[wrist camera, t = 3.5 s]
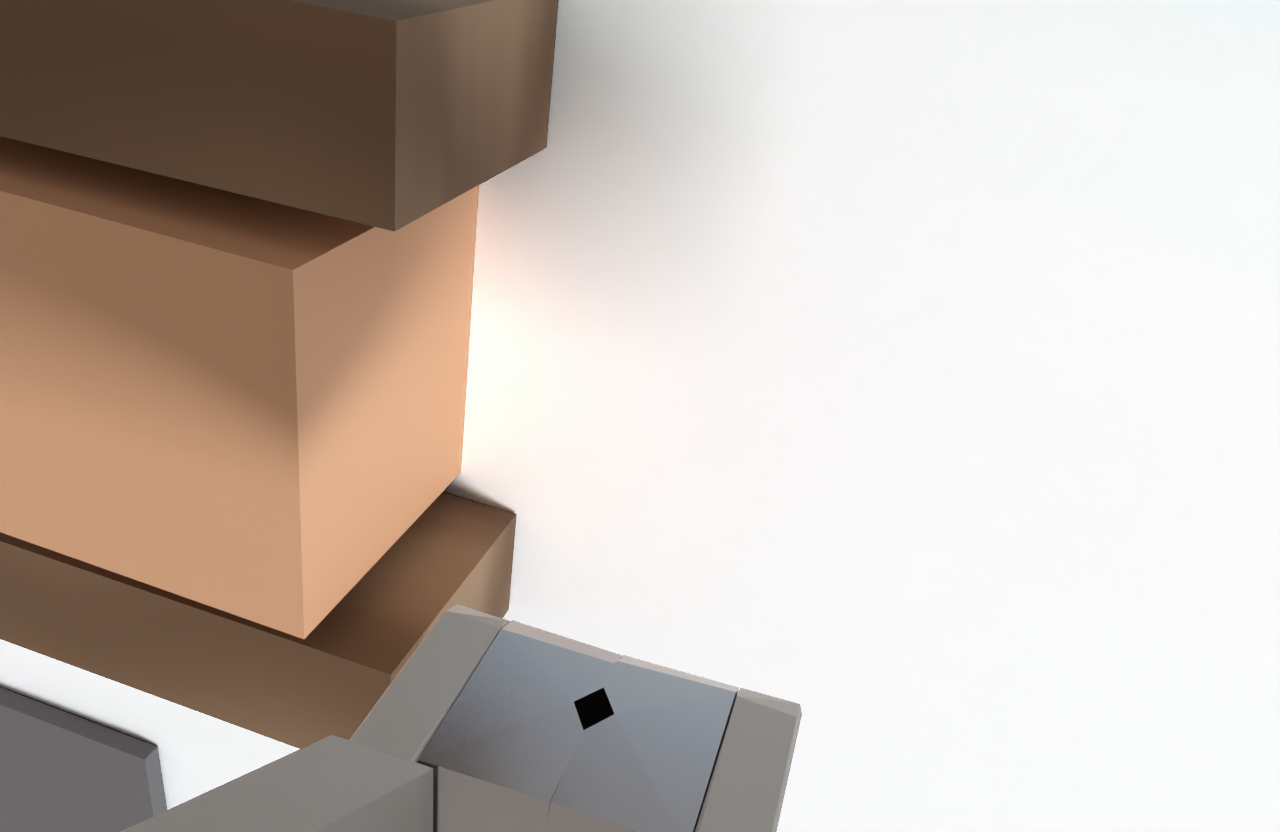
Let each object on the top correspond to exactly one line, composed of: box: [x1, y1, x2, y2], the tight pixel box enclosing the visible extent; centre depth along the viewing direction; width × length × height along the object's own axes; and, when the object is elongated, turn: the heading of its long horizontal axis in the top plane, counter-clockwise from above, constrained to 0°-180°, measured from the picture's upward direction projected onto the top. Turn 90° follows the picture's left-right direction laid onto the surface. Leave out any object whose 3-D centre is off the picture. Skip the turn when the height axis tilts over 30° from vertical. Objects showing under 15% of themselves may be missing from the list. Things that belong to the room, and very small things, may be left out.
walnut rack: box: [0, 0, 558, 749], centre depth 13 cm, size 18×12×4 cm, turn 172°
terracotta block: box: [0, 136, 479, 639], centre depth 14 cm, size 5×6×4 cm
